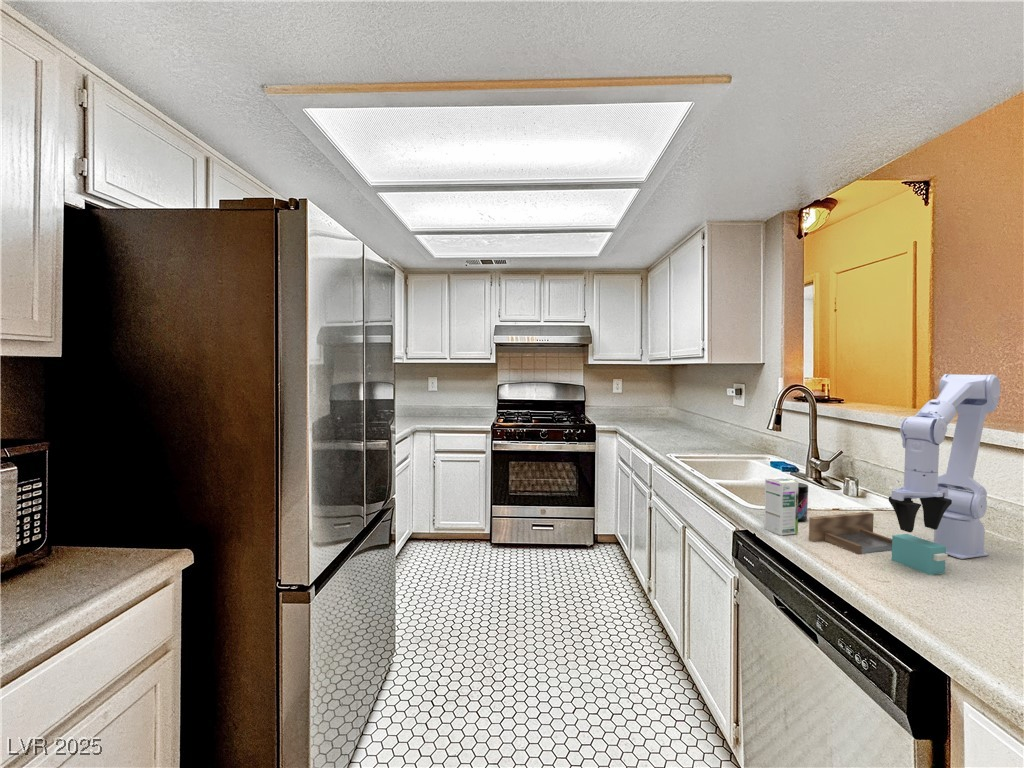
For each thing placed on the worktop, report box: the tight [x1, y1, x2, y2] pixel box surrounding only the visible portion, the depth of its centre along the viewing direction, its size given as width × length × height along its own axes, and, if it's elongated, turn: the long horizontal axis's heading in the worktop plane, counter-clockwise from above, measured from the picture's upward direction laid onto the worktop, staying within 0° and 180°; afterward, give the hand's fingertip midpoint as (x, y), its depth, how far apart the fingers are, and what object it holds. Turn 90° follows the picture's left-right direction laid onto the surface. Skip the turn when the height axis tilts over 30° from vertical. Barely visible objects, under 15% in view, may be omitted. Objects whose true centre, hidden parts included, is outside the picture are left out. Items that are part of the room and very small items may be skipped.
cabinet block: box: [891, 533, 949, 576], centre depth 105 cm, size 4×9×6 cm, turn 15°
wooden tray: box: [808, 511, 892, 555], centre depth 118 cm, size 20×10×6 cm, turn 105°
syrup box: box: [764, 477, 799, 537], centre depth 127 cm, size 6×6×14 cm
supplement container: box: [798, 481, 809, 523], centre depth 138 cm, size 7×7×10 cm
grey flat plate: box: [835, 533, 892, 554], centre depth 118 cm, size 11×9×1 cm
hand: (918, 529), depth 105 cm, fingers open, 7 cm apart
